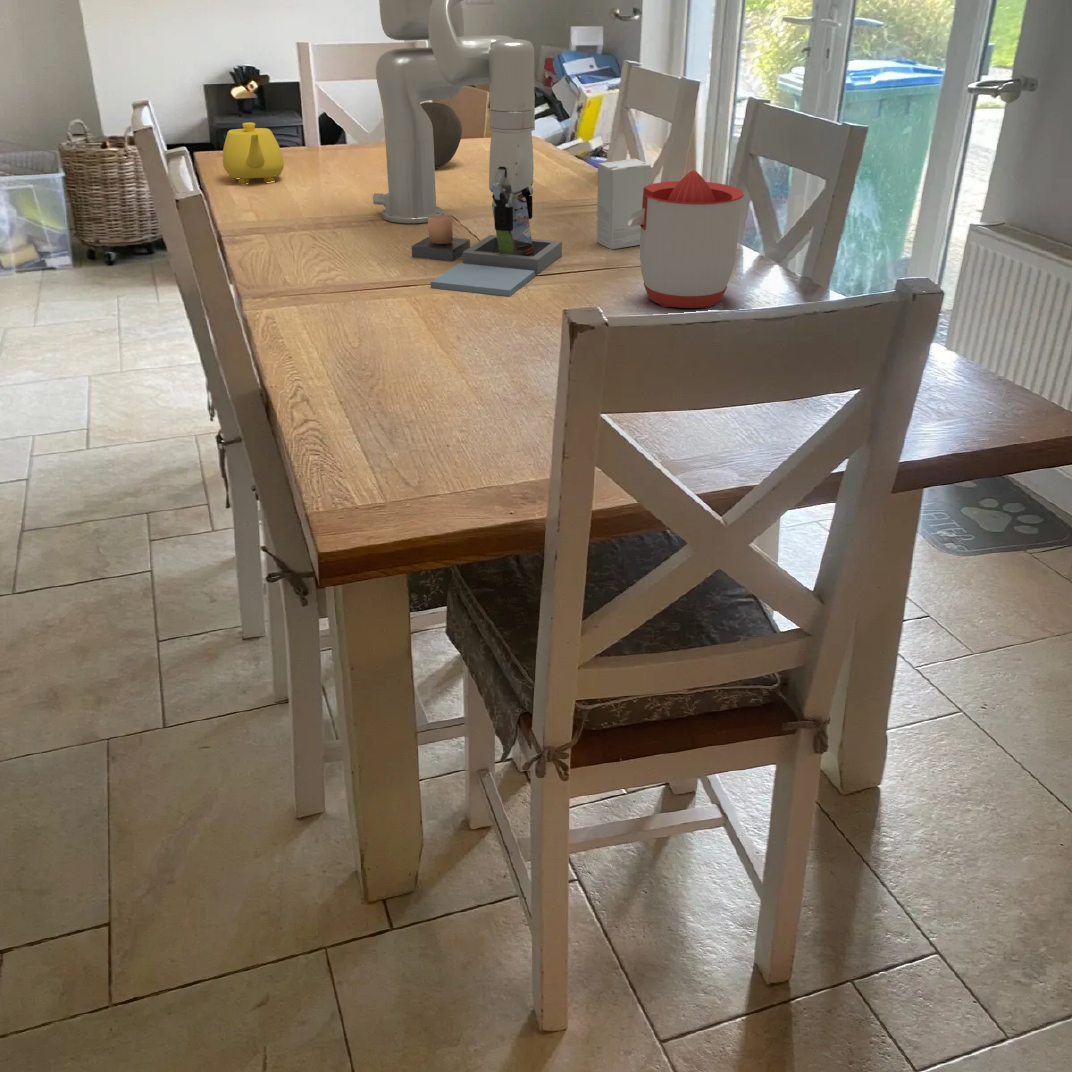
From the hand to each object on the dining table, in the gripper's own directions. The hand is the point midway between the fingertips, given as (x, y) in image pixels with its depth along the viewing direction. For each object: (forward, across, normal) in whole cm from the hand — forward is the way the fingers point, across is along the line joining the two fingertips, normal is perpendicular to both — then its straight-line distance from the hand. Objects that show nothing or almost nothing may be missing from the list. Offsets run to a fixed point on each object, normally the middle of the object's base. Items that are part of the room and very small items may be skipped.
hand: (513, 224), depth 188 cm
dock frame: (+6, 0, 0) cm, 7 cm away
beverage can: (+7, 0, 0) cm, 7 cm away
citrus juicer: (+7, +12, +33) cm, 35 cm away
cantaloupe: (+5, -74, -49) cm, 89 cm away
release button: (+4, 0, -14) cm, 15 cm away
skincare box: (+7, -18, +15) cm, 24 cm away
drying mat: (+7, +14, 0) cm, 15 cm away
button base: (+6, 0, -14) cm, 16 cm away
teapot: (+5, -44, -81) cm, 93 cm away
